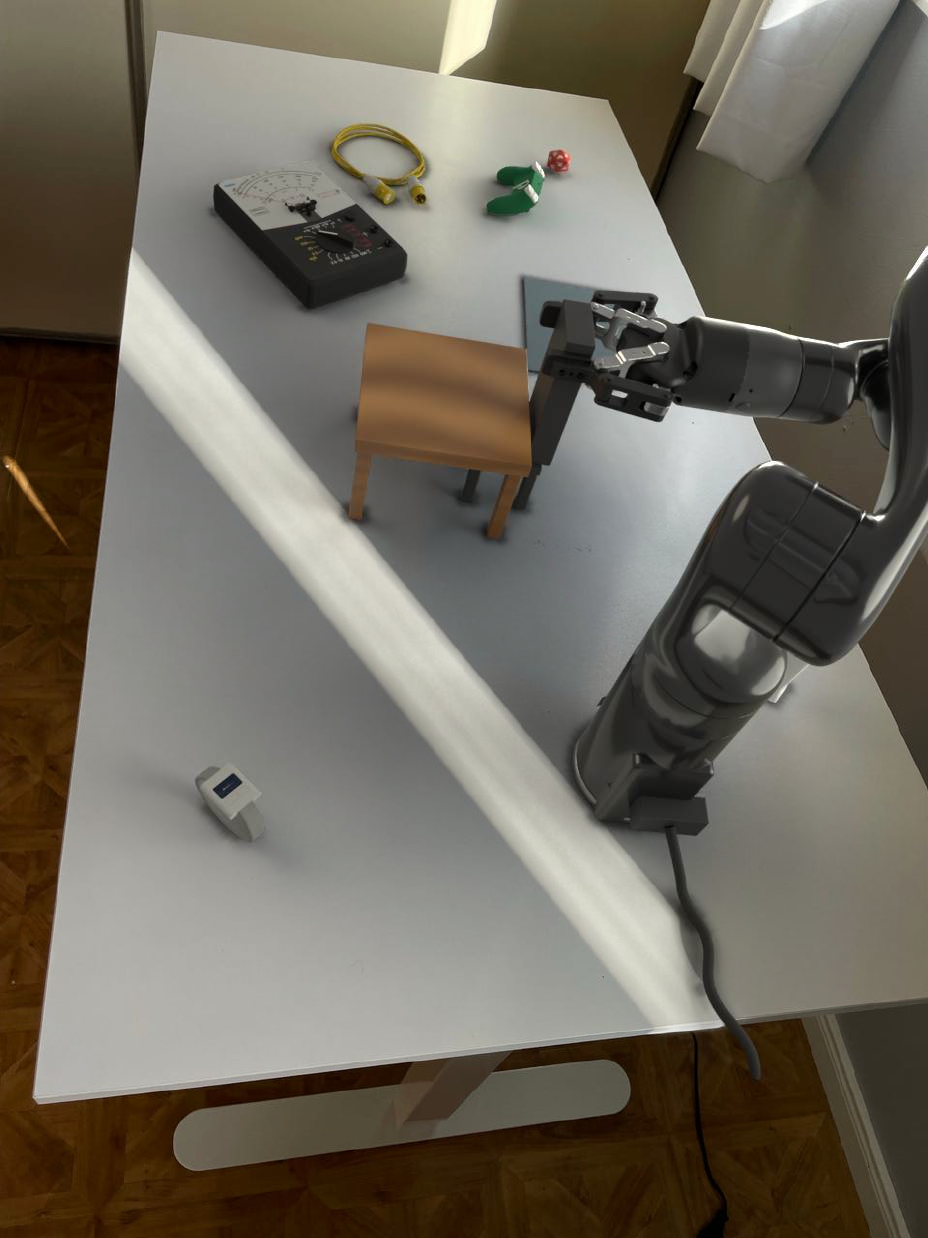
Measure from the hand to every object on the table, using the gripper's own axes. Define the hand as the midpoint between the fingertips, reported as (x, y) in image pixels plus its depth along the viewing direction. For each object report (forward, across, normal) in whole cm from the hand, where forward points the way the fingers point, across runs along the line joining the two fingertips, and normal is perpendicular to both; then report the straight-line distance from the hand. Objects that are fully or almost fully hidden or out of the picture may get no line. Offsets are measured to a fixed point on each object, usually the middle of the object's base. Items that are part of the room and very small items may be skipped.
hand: (543, 336), depth 83 cm
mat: (-11, -25, +18) cm, 33 cm away
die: (-9, -57, +18) cm, 60 cm away
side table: (+7, 0, +18) cm, 19 cm away
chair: (0, 0, +18) cm, 18 cm away
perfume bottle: (-25, +20, +18) cm, 37 cm away
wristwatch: (+20, +37, +18) cm, 46 cm away
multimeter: (+21, -32, +18) cm, 43 cm away
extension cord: (+14, -50, +18) cm, 55 cm away
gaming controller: (-3, -48, +18) cm, 51 cm away
